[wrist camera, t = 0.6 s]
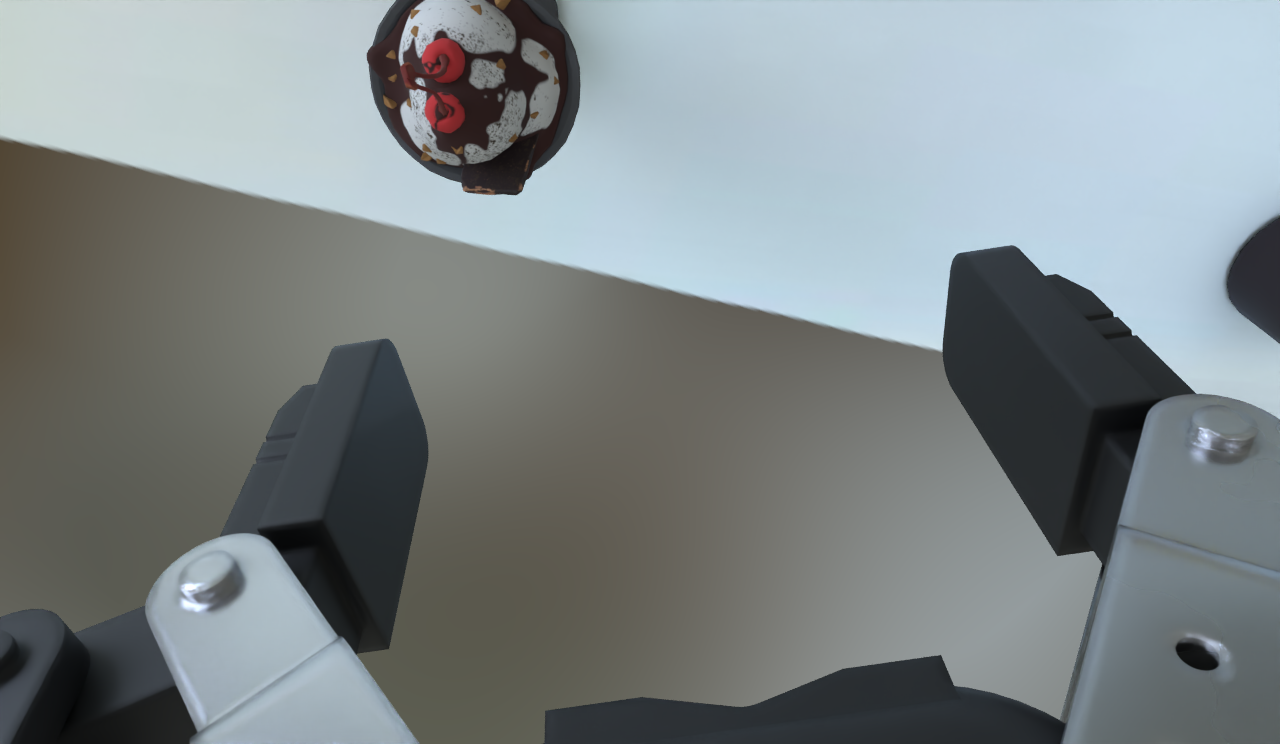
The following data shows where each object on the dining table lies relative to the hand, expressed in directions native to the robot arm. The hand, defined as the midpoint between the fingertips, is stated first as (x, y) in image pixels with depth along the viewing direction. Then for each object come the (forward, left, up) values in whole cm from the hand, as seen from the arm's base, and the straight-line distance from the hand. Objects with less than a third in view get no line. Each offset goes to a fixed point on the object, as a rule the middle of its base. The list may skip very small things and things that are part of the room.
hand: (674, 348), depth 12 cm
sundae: (0, -5, -28) cm, 28 cm away
